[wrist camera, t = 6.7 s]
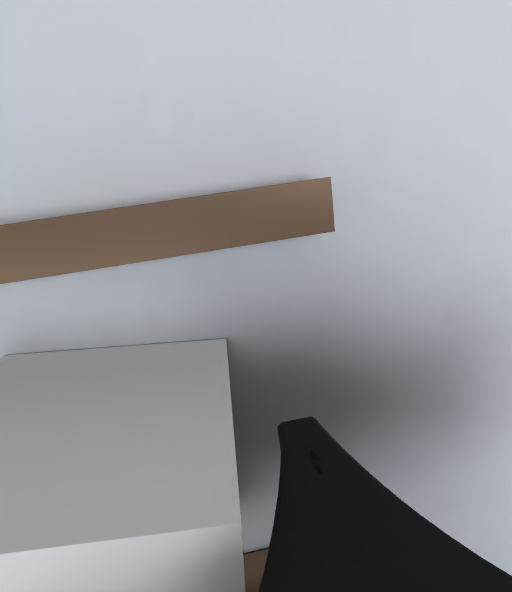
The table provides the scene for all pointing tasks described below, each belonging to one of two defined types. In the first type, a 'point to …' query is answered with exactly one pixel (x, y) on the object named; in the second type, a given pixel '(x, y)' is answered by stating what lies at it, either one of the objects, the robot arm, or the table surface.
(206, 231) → the u-shaped frame
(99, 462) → the white cube
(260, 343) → the table surface
